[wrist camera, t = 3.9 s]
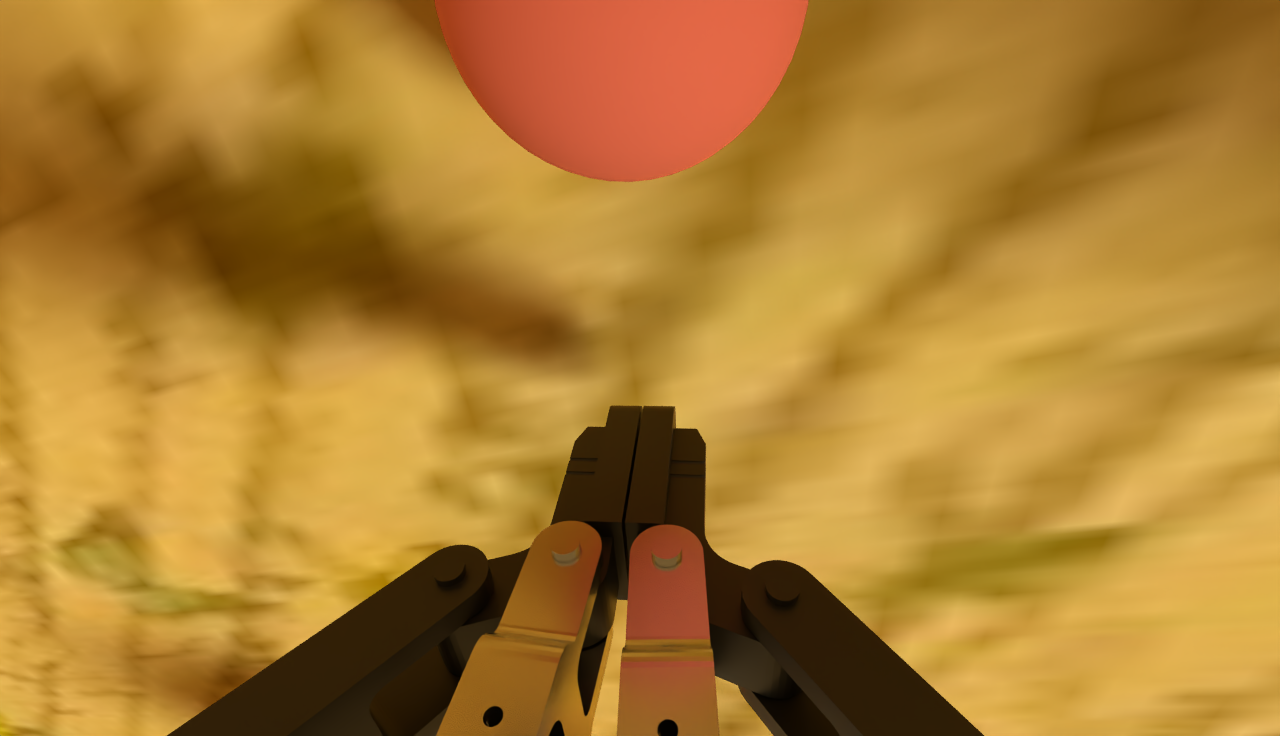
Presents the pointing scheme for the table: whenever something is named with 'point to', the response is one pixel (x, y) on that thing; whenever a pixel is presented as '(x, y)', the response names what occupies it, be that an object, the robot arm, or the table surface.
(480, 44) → the ball
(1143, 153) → the table surface
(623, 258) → the table surface
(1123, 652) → the table surface
